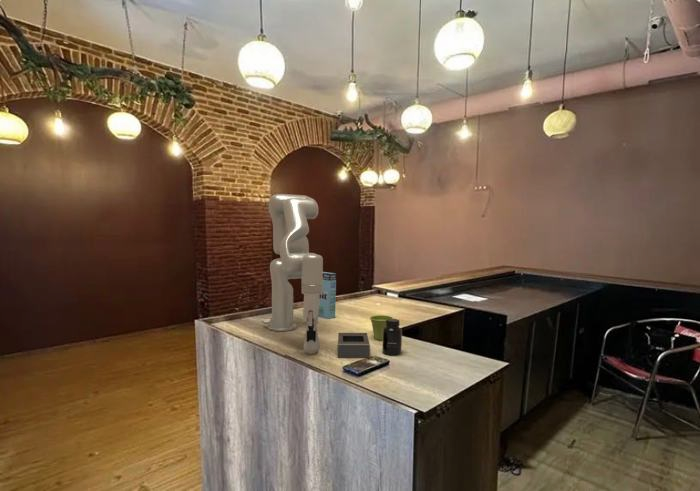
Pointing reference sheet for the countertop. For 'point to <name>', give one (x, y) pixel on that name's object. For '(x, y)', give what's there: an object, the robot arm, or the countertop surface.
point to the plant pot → (379, 325)
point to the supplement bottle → (392, 338)
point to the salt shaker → (312, 343)
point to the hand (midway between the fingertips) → (311, 339)
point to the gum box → (328, 296)
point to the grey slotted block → (353, 345)
